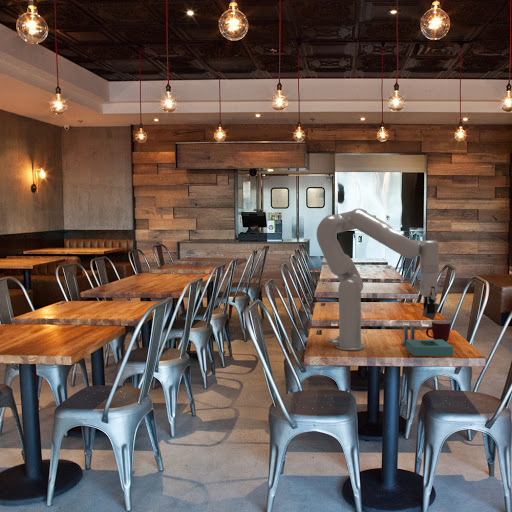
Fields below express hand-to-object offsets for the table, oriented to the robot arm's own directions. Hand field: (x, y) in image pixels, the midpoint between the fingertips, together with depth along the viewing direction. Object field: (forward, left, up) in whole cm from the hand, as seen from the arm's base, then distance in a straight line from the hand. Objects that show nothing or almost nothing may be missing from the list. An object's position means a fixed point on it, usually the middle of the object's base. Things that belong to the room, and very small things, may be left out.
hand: (429, 311), depth 247 cm
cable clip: (-5, +13, -17) cm, 22 cm away
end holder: (0, 0, -17) cm, 17 cm away
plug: (-1, 0, -2) cm, 3 cm away
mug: (+9, +16, -18) cm, 25 cm away
